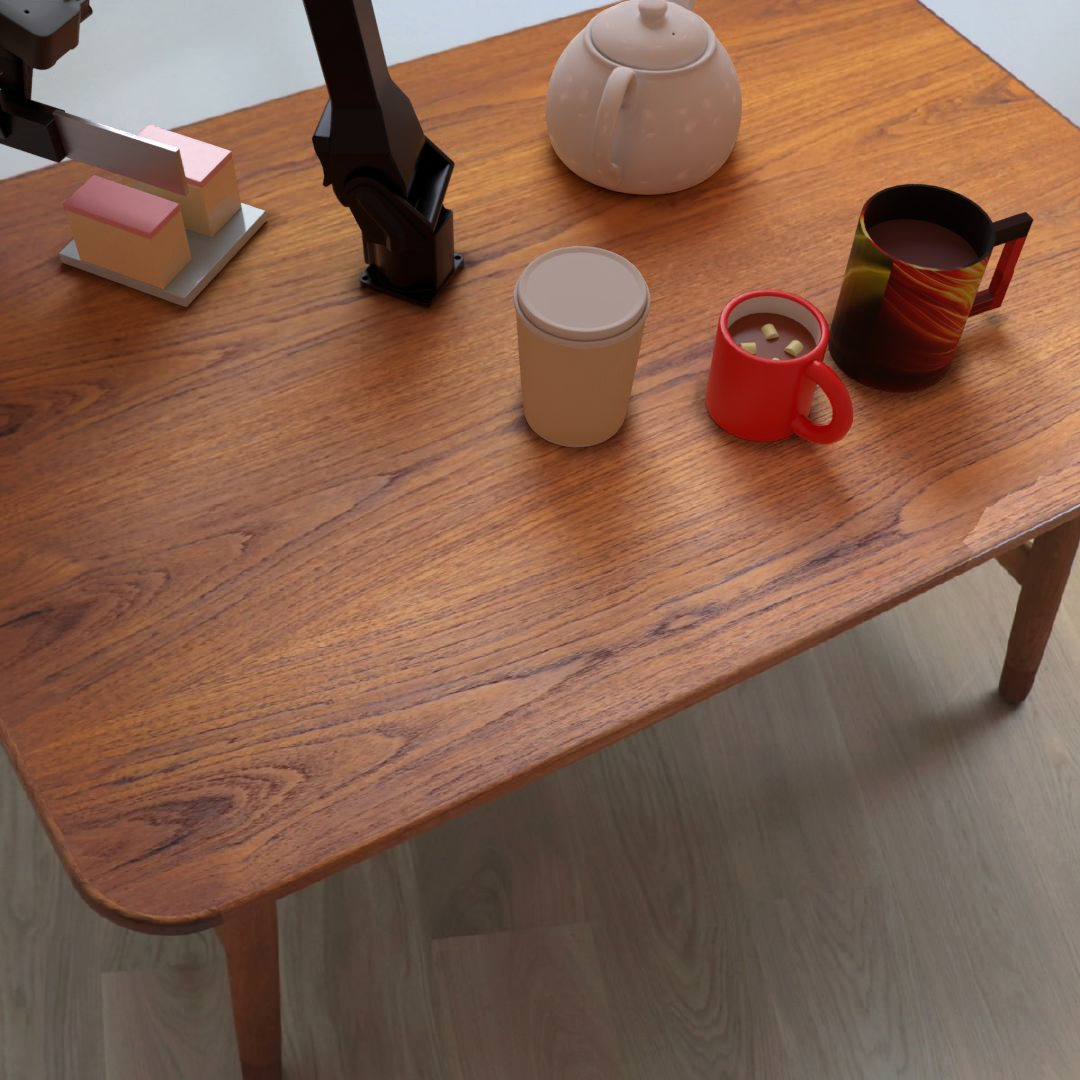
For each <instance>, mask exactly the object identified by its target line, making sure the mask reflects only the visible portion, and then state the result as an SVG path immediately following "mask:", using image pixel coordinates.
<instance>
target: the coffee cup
mask: <svg viewBox="0 0 1080 1080" xmlns="http://www.w3.org/2000/svg"><path fill="white" fill-rule="evenodd" d="M513 306H514V311H515V314H516V315H515V316H516V331H517V334H516V335H517V348H518V360H519V372H520V373H519V374H520V385H521V399H522V400H521V401H522V407H523V415H524V418H525V420H526V422H527V425H528V426H529V428H530V429H531V430H532V431H533V432H534V433H535V434H537V435H538V436H539V437H540V438H542V439H544V440H545V441H547V442H550V443H552V444H554V445H557V446H562V447H565V448H566V447H567V448H586V447H592V446H595V445H599V444H601V443H604V442H605V441H607V440H609V439H611V438H612V437H613V436H615V434H617V432H618V431H619V430H620V429H621V427H622V426H623V424H624V422H625V419H626V416H627V411H628V408H629V405H630V404H629V403H630V399H631V395H632V390H633V385H634V380H635V375H636V370H637V365H638V360H639V356H640V352H641V346H642V341H643V337H644V336H643V335H644V330H645V325H646V320H647V319H648V316H649V312H650V310H651V292H650V289H649V286H648V284H647V282H646V281H645V278H644V276H643V274H642V273H641V272H640V270H639V269H638V268H637V266H635V264H633V262H631V261H630V260H628V259H627V258H625V257H624V256H621V255H620V254H618V253H616V252H613V251H610V250H608V249H605V248H600V247H595V246H587V245H585V246H584V245H573V246H564V247H559V248H556V249H552V250H549V251H547V252H545V253H543V254H541V255H539V256H537V257H536V258H534V259H532V261H531V262H529V264H527V265H526V266H525V268H524V270H523V271H522V272H521V274H520V275H519V277H518V279H517V280H516V283H515V286H514V290H513Z"/></svg>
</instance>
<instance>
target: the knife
mask: <svg viewBox="0 0 1080 1080" xmlns="http://www.w3.org/2000/svg"><path fill="white" fill-rule="evenodd" d="M0 104H1V107H2V110H3V113H4V116H5V119H6V123H7V129H8V134H9V136H8V137H7V138H6V139H2V138H0V145H3V146H6V147H9V148H11V149H15V150H18V151H21V152H24V153H27V154H29V155H33V156H36V157H38V158H43V159H45V160H48V161H51V162H54V163H57V164H60V163H61V162H63V161H64V159H71V160H74V161H76V162H79V163H81V164H85V165H88V166H91V167H94V168H97V169H101V170H102V171H107V172H109V173H112V174H116V175H118V176H121V177H122V176H125V177H128V178H131V179H134V180H137V181H140V182H143V183H146V184H149V185H152V186H155V187H158V188H161V189H164V190H167V191H170V192H173V193H176V194H179V195H182V196H185V197H186V196H187V195H188V194H189V188H188V184H187V180H186V176H185V171H184V167H183V163H182V158H181V154H180V150H179V149H178V148H175V147H172V146H169V145H166V144H163V143H160V142H156V141H153V140H150V139H147V138H144V137H141V136H138V135H137V134H134V133H131V132H128V131H125V130H122V129H119V128H116V127H112V126H109V125H106V124H103V123H99V122H96V121H94V120H91V119H87V118H84V117H80V116H78V115H75V114H71V113H69V112H66V110H65V109H62V108H59V107H56V106H52V105H50V104H46V103H43V102H40V101H37V100H33V99H32V98H31V99H28V98H25V97H21V96H18V95H15V94H12V93H9V92H6V91H3V90H0Z"/></svg>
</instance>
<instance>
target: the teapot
mask: <svg viewBox="0 0 1080 1080" xmlns="http://www.w3.org/2000/svg"><path fill="white" fill-rule="evenodd" d="M695 8H696V7H695V0H626V1H625V0H624V1H622V2H620V3H617V4H615V5H613V6H610V7H608V8H606V9H603V10H602V11H600V12H598V13H597V14H596V15H595V16H593V17H592V18H591V19H590V20H589V22H588V23H587V25H586V26H585V27H584V28H582V29H581V30H580V31H579V32H578V33H577V34H576V35H575V36H574V37H573V38H572V40H571V41H570V42H569V43H568V44H567V46H566V47H565V48H564V50H563V51H562V53H561V55H560V56H559V58H558V60H557V61H556V63H555V66H554V68H553V71H552V73H551V76H550V78H549V83H548V86H547V91H546V98H545V99H546V100H545V124H546V130H547V135H548V139H549V142H550V144H551V146H552V149H553V151H554V152H555V154H556V155H557V157H558V158H559V160H560V161H561V162H562V163H563V164H564V165H565V166H566V167H567V168H568V169H569V170H570V171H571V172H573V173H574V174H575V175H576V176H578V177H580V178H581V179H583V180H584V181H587V182H588V183H591V184H593V185H595V186H597V187H602V188H604V189H607V190H610V191H614V192H619V193H624V194H631V195H641V196H642V195H645V196H646V195H647V196H649V195H650V196H651V195H664V194H672V193H677V192H681V191H684V190H687V189H689V188H693V187H695V186H697V185H699V184H702V183H703V182H705V181H706V180H708V179H709V178H711V177H712V176H713V175H714V174H716V173H717V172H718V171H719V170H720V169H721V168H722V166H723V165H724V164H725V163H726V162H727V160H728V158H729V157H730V156H731V153H732V151H733V149H734V147H735V145H736V141H737V139H738V135H739V132H740V128H741V122H742V114H743V113H742V112H743V111H742V110H743V99H742V97H743V95H742V90H741V84H740V79H739V77H738V73H737V70H736V67H735V65H734V63H733V60H732V59H731V57H730V55H729V53H728V52H727V49H726V48H725V47H724V45H723V44H722V43H721V41H720V40H719V38H717V36H716V34H715V31H714V30H713V28H712V26H711V25H709V23H708V22H707V21H706V20H704V18H702V17H701V16H700V15H699V14H697V13H696V11H695Z"/></svg>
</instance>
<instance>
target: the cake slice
mask: <svg viewBox="0 0 1080 1080" xmlns="http://www.w3.org/2000/svg"><path fill="white" fill-rule="evenodd" d="M62 206H63V209H64V213H65V216H66V219H67V223H68V226H69V228H70V231H71V234H72V238H73V239H74V241H75V244H76V248H77V251H78V254H79V257H80V260H83V261H85V262H88V263H91V264H94V265H97V266H99V267H102V268H105V269H108V270H111V271H113V272H116V273H119V274H122V275H125V276H127V277H130V278H133V279H136V280H139V281H141V282H144V283H147V284H150V285H153V286H155V287H158V288H161V289H165V288H166V287H167V286H168V285H169V283H170V282H171V281H172V280H173V279H174V278H175V277H176V276H177V275H178V274H179V273H180V272H181V271H182V270H183V269H184V268H185V267H186V266H187V264H188V263H189V262H190V261H191V260H192V257H191V253H190V249H189V244H188V240H187V235H186V231H185V227H184V222H183V218H182V214H181V210H180V205H179V204H178V203H175V202H172V201H169V200H166V199H163V198H161V197H158V196H155V195H152V194H149V193H146V192H143V191H140V190H137V189H134V188H131V187H128V186H125V185H124V184H122V183H119V182H116V181H113V180H110V179H107V178H104V177H101V176H99V175H95V174H93V175H92V176H91V177H90V178H88V180H87V181H86V182H84V183H83V184H82V185H81V186H80V187H79V188H78V189H77V190H76V191H74V193H72V195H70V196H69V197H67V199H66V200H65V201H64V202H63V203H62Z"/></svg>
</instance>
